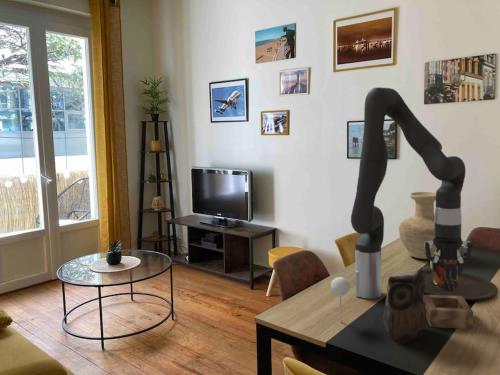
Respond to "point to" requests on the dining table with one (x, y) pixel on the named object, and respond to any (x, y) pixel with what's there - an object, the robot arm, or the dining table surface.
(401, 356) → the dining table surface
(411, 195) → the vase
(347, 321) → the dining table surface
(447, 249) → the deodorant
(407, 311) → the owl
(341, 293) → the lollipop
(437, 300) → the socket block
